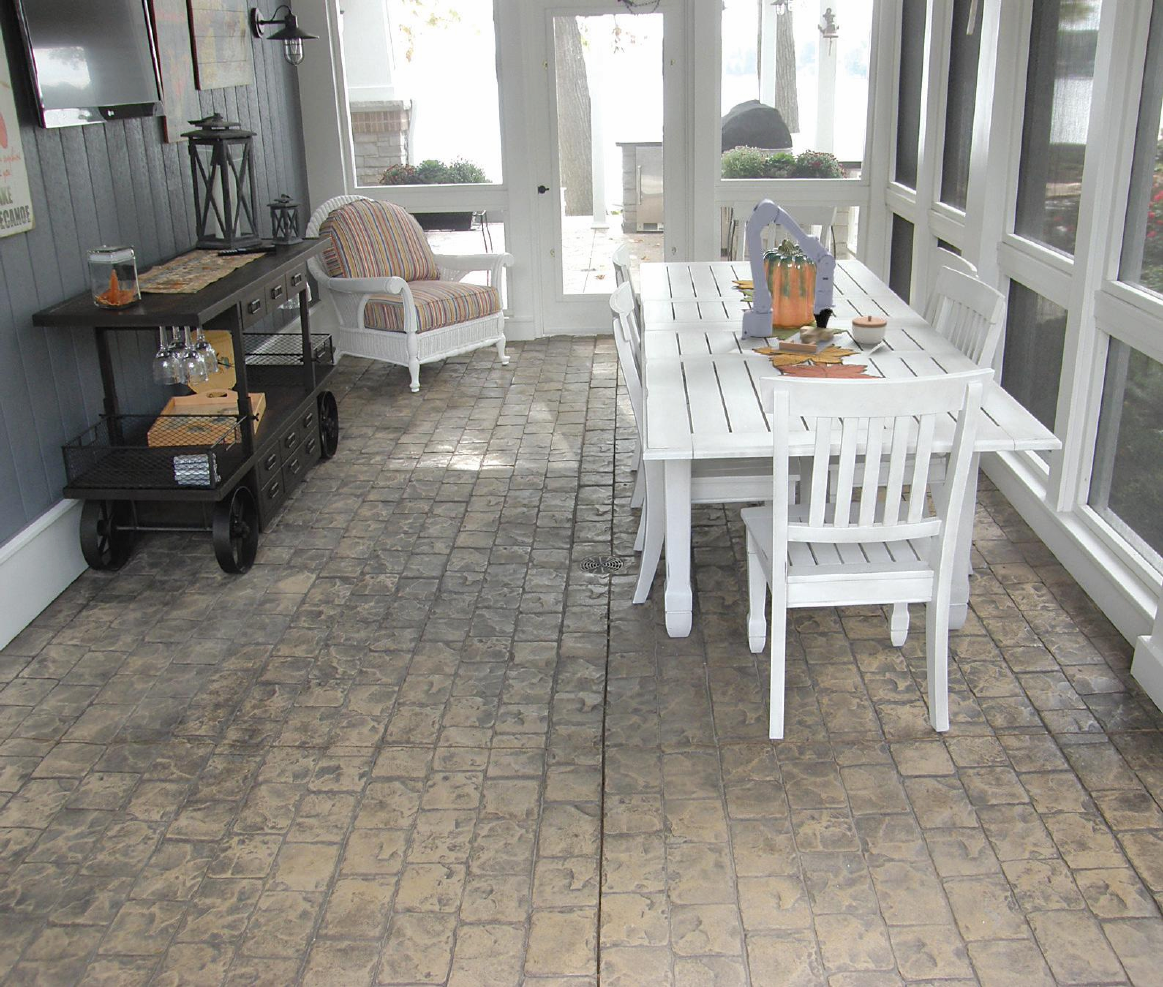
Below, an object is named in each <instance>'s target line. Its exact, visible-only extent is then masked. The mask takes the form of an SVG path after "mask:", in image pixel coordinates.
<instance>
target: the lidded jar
mask: <svg viewBox="0 0 1163 987" xmlns="http://www.w3.org/2000/svg"><path fill="white" fill-rule="evenodd" d="M851 324H852V326H851V328H852V330H851V331H852V337H853V339H854V341H855V342H857V343H858V344H865V345H866V344H867V345H872V344H873V345H875V344H877V345H875V347H878V344H879V343H881V342H882V341H883V340H884V338H885V335H886V331H887V325H888V321H887V320H886V319H884V318H879V317H872V314H871V315H867V317H866V316H863V317H857V318H853V319H852V321H851Z"/></svg>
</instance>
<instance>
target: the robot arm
mask: <svg viewBox="0 0 1163 987" xmlns="http://www.w3.org/2000/svg"><path fill="white" fill-rule="evenodd" d="M772 222H774V224H775V225H779V226H780V225H781V226H783V227H784V229H786V230H787V231H788V232H789V233H790V234H791V235H792V237H794V238H795V239H796V240H797V241H798V242H799V243H798V244H799V250H801V252H803V254H805V255H806V257H807V258H809V260H810V261H811V262H813V263H815V266H816V267H817V268H816V275H815V287H814V303H813V308H812V316H813V317H814V320H815V323H816V327H819V328H828V327H827V326H828V323H829V320H830V318H831V315H832V314H833V312H834V310H833V309H832V308H836V303H834V299H833V296H834V282H835V275H834V274H835V268H837V263H836V258H835V257H834V256H833V254H832V253H831V252H830V249H829V248H828V247H825V246H824V244H822V242H820V238H819V237H818V236H817V235H815V236H814V235H813V234H807V233H806V232H805V231H804V230H803V229H802V228H801V227H800V225H798V224H797V222H796V221H795V220H794V219H793V217H791V216H790V214H788V213H787V212H786V210H784V209H783V208H782V207H780V206H779V205H776V203H775V202H774V201H773V200H772V199H769V198H764V199H762V200H760V201H759V202H758V203H757V204H756V205H755V206H754V207H753V209H752V212H751V214H750V217H749V218H748V221H747V223H746V224H745V231H744V232H745V237H746V244H747V250H748V257H749V264H750V270H751V280H752V286H753V293H752V296H751V298H752V299H751V300H752V307H751V308H750V309H746V310H745V311H744V313H743V314H742V324H741V325H742V327H741V337H740V339H746V340H747V339H748V338H750V337H757V338H767V337H771V336H772V335H773V321H774V309H773V308H772V307H773V305H774V303H773V302H774V301H773V297H772V293H771V292H770V290H769V287H768V282H767V281H768V280H767V273H766V267H765V261H764V252H763V245H762V237H761V233H762V231H763V230H764V229H765V228H766V227H767V226H768V225H769V224H771V223H772ZM830 308H831V309H830Z"/></svg>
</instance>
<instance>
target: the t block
mask: <svg viewBox="0 0 1163 987" xmlns="http://www.w3.org/2000/svg"><path fill="white" fill-rule="evenodd" d="M799 332H800V338H802V342H801V343H805V344H809V343H811V342H818V341H820V340H828V341H830V340H831V339H833V338H834V336H835V328H829V327H826V328H819V327H817V326H807V325H805V326H804V325H803V326H802V327H800V329H799Z"/></svg>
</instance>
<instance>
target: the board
mask: <svg viewBox="0 0 1163 987" xmlns="http://www.w3.org/2000/svg"><path fill="white" fill-rule="evenodd" d="M842 338H843V336H837V335H834V338H833V339H831V340H830V341H828V340H820V341H818V342H811V343H809V344H805V343H801V342H802V338H800V331H799V332H797V333H795V334H793V335H792V336H790V337H788V338H786V339H785V340H783V341H781V340H780V341H779V342H778V344H776V345H775V346H773V347H771V348H770V350H771V351H770V352H769V354H777V355H782V354H785V352H789V353H788V354H789V355H788V356H791V355H794V354H792V353H796V354H797V353H799V354H809V355H819V353H821V352H823V351H824V350H825V349H827V348H828V347H830V346H831V345H833V344H835V342H837V341H838V340H840V339H842ZM772 350H773V351H774V352H773V351H772ZM775 351H781V352H775ZM783 352H784V353H783ZM790 352H791V353H790Z"/></svg>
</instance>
